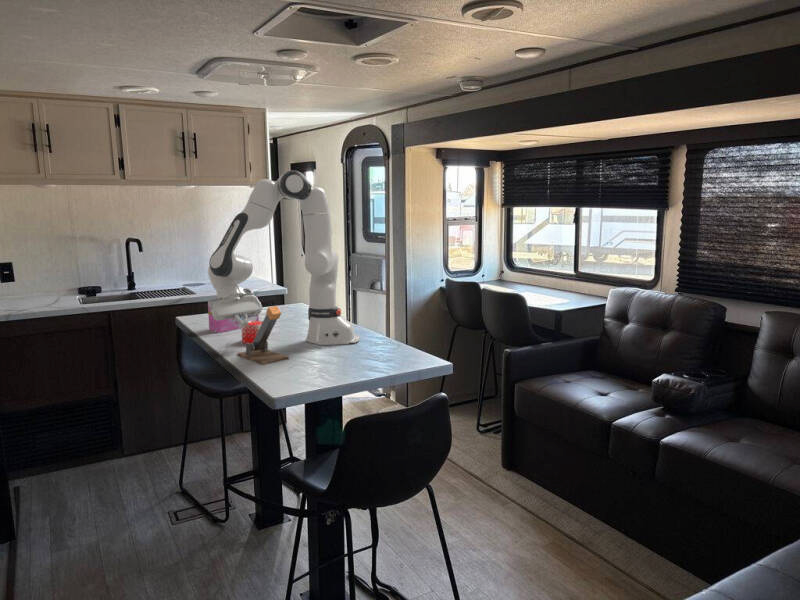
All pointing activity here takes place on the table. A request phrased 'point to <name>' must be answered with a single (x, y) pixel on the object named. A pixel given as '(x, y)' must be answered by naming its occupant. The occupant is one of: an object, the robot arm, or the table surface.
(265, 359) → the lever base
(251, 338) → the puzzle cube
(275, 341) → the table surface
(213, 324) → the gum box
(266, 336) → the lever
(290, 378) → the table surface
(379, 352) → the table surface
